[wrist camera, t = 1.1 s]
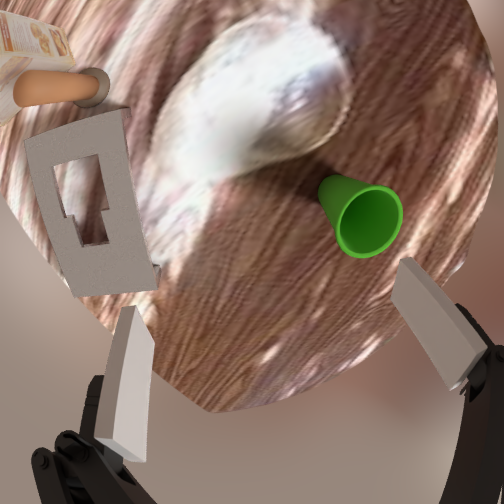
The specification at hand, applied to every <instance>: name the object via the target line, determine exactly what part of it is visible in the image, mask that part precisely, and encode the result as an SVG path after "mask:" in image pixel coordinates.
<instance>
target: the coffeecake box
mask: <svg viewBox="0 0 504 504" xmlns="http://www.w3.org/2000/svg"><path fill="white" fill-rule="evenodd" d="M75 65H76V63H75V61H74V58H73V55H72V52H71V50H70V47H69V44H68V41H67V38H66V35H65V32H64V29H61V28H59V27H56V26H53V25H50V24H47V23H44V22H41V21H38V20H35V19H32V18H29V17H25V16H21V15H18V14H14V13H10V12H7V11H2V10H0V127H1V126H4V125H5V124H6V123H7V122H9V121H10V120H11V119H12V118H13V117H14V116H15V115H16V114H17V113H18V112H19V111H20V110H21V109H22V108H23V107H19V106H17V105H16V103H15V102H14V99H13V88H14V85H15V82H16V80H17V79H18V77H19V76H20V75H21V74H22V73H23V72H25V71H27V70H45V71H58V72H66V71H68V70H69V69H70V68H72V67H73V66H75Z"/></svg>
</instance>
